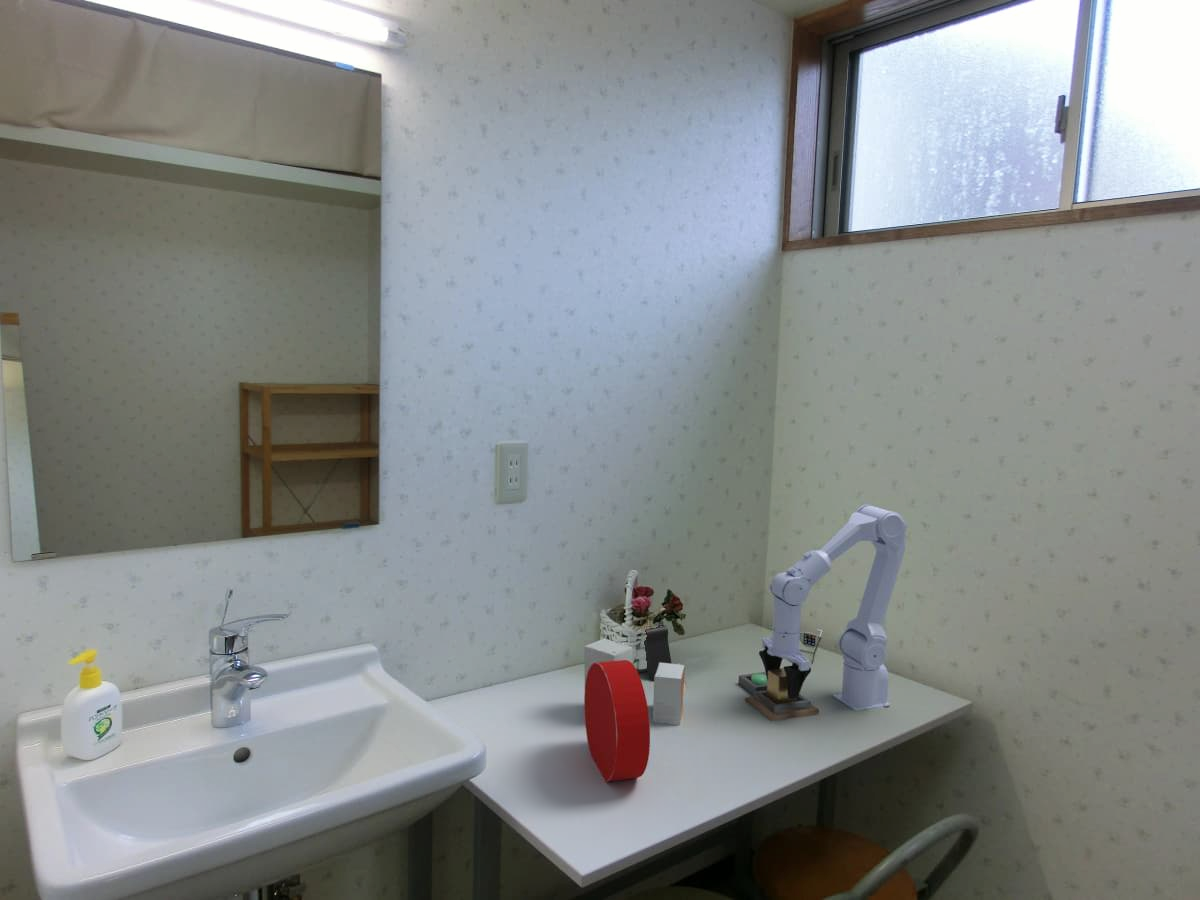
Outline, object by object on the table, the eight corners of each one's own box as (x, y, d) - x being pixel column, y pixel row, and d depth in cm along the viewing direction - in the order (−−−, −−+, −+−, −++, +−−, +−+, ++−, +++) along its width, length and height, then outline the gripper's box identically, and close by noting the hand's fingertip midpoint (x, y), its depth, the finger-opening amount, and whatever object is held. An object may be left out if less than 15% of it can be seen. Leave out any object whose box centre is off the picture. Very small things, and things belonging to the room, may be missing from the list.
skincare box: (632, 720, 159) (635, 647, 157) (611, 730, 154) (613, 655, 152) (603, 707, 164) (605, 636, 163) (581, 716, 160) (583, 644, 158)
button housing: (764, 680, 181) (764, 672, 181) (781, 693, 174) (782, 683, 174) (738, 684, 178) (738, 675, 178) (755, 697, 172) (755, 687, 172)
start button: (762, 681, 179) (762, 672, 179) (772, 688, 175) (772, 679, 175) (747, 684, 177) (748, 674, 177) (757, 691, 174) (757, 681, 174)
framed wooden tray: (790, 694, 174) (791, 684, 173) (819, 713, 164) (819, 702, 164) (745, 701, 169) (745, 690, 169) (771, 721, 160) (772, 710, 160)
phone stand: (673, 681, 179) (676, 631, 178) (652, 685, 176) (654, 634, 175) (652, 667, 187) (654, 619, 186) (631, 671, 184) (633, 622, 183)
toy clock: (647, 800, 129) (652, 686, 127) (614, 805, 128) (618, 689, 126) (612, 744, 148) (615, 643, 146) (582, 747, 147) (585, 646, 145)
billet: (785, 698, 169) (787, 667, 169) (796, 705, 166) (798, 674, 165) (766, 701, 168) (768, 670, 167) (777, 708, 164) (779, 677, 163)
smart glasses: (823, 645, 204) (823, 628, 203) (814, 672, 192) (814, 655, 190) (777, 637, 209) (778, 620, 208) (765, 664, 197) (766, 646, 195)
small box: (679, 729, 155) (681, 679, 154) (652, 725, 157) (654, 676, 155) (683, 712, 163) (685, 664, 162) (657, 709, 164) (659, 661, 163)
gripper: (751, 620, 170) (748, 679, 172) (790, 643, 157) (787, 707, 158) (778, 617, 173) (775, 675, 174) (819, 639, 159) (815, 702, 161)
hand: (782, 690), depth 166 cm, fingers open, 7 cm apart
